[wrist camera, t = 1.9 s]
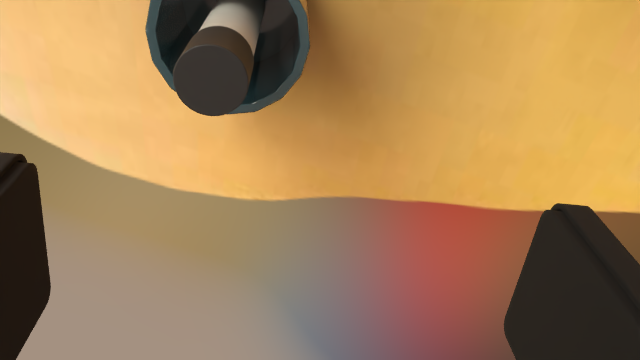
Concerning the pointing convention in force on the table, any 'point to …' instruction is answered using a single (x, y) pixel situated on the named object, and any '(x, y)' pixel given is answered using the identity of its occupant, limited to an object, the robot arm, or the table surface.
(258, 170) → the table surface
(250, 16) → the marker
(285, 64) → the pen holder
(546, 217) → the robot arm
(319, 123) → the table surface
